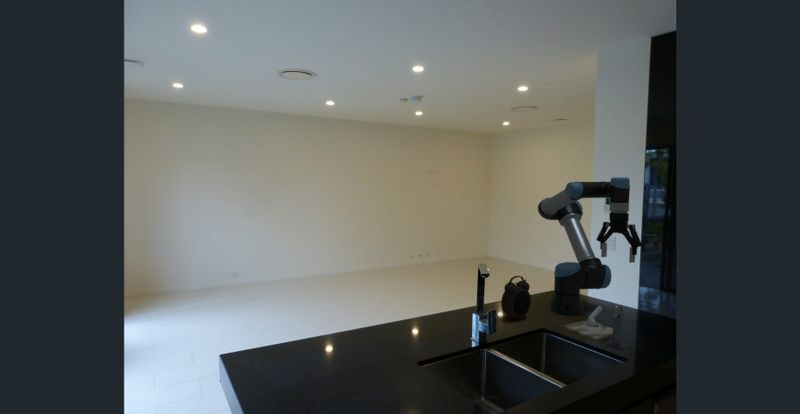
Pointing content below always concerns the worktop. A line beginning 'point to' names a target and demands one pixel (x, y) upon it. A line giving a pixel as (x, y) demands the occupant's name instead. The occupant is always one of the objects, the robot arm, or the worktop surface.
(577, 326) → the pad
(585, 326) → the hook
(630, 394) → the worktop surface
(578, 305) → the robot arm
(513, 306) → the alarm clock
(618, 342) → the eye post
